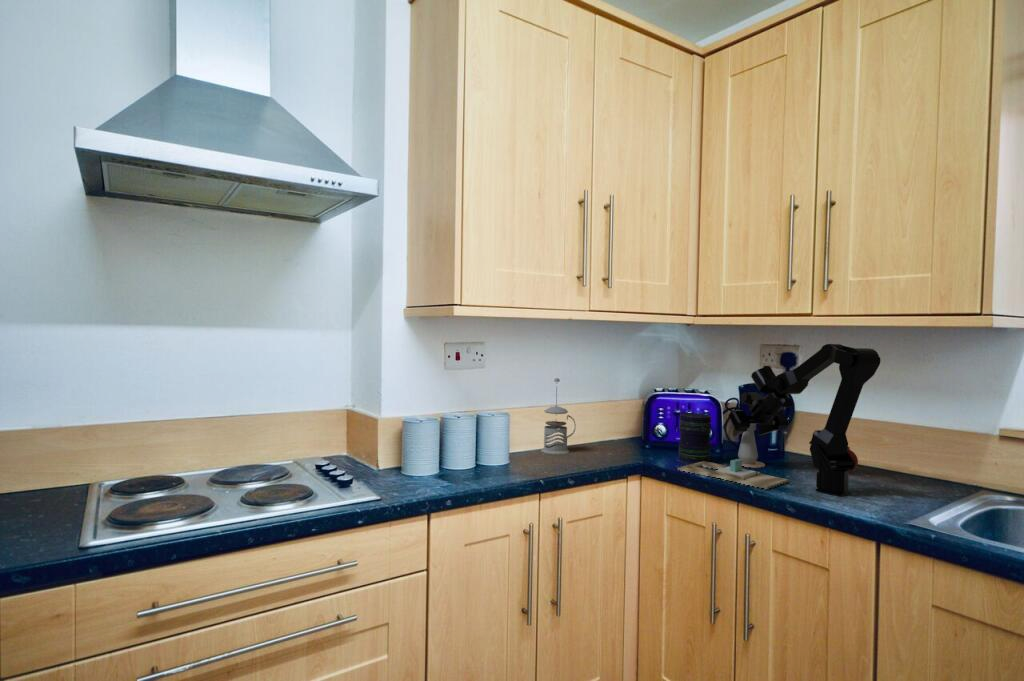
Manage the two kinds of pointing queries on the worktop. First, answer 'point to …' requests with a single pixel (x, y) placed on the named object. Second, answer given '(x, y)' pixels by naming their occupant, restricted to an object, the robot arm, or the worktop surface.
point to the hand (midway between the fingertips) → (745, 435)
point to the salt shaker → (748, 446)
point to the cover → (737, 469)
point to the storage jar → (694, 437)
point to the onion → (853, 456)
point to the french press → (556, 431)
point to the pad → (754, 465)
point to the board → (755, 480)
